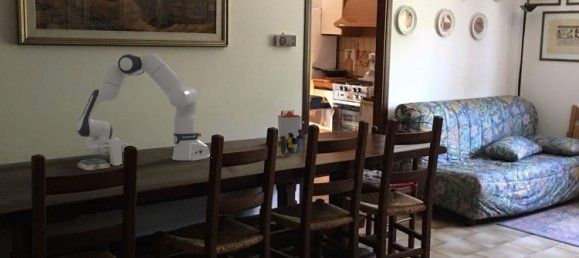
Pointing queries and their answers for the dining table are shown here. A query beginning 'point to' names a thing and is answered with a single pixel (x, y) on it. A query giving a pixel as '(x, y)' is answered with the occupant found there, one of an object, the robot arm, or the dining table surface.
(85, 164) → the birch base board
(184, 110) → the robot arm
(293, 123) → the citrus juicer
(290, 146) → the doll family
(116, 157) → the cream pillar
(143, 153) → the dining table surface
